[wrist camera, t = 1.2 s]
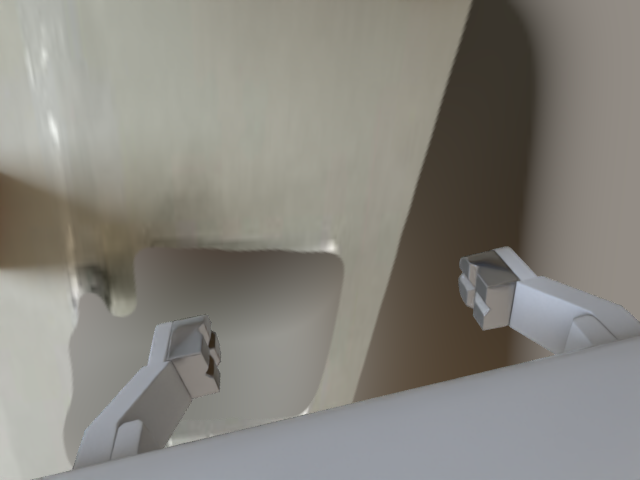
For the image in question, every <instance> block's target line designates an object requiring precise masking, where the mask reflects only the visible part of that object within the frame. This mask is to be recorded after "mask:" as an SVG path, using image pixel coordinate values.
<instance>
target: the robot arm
mask: <svg viewBox="0 0 640 480" xmlns="http://www.w3.org/2000/svg"><path fill="white" fill-rule="evenodd" d="M459 267H460V269H461V270H462V271H463V273H462V274H461V276H460V277H459V290H460V294H461V296H462V299H463V301H464V302H465V304H466V306H468V307H470V308H472V309H473V316H474V318H475V319H476V321H477V322H478V324H479V325H480V327H481V328H482V330H489V329H493V328H498V327H503V326H507V325H509V326H510V327H511V328H513V329H515V330H516V331H518V332H519V333H521V334H523V335H524V336H526V337H528V338H529V339H531V340H532V341H534V342H536V343H537V344H539V345H541V346H542V347H544V348H546V349H547V350H549V351H550V352H552V353H554V354H555V355H553V356H549V357H545V358H541V359H537V360H532V361H528V362H524V363H520V364H516V365H511V366H507V367H503V368H499V369H494V370H490V371H487V372H483V373H478V374H474V375H469V376H465V377H461V378H457V379H452V380H448V381H444V382H440V383H435V384H431V385H427V386H423V387H419V388H414V389H410V390H406V391H402V392H398V393H393V394H389V395H385V396H381V397H377V398H372V399H368V400H364V401H360V402H356V403H351V404H347V405H343V406H339V407H335V408H330V409H326V410H322V411H318V412H314V413H309V414H305V415H301V416H297V417H293V418H288V419H284V420H280V421H276V422H272V423H267V424H263V425H259V426H255V427H251V428H246V429H242V430H238V431H234V432H230V433H225V434H221V435H217V436H213V437H209V438H204V439H200V440H196V441H192V442H188V443H183V444H179V445H175V446H171V447H167V448H164V447H165V445H166V443H167V442H168V440H169V438H170V437H171V435H172V434H173V432H174V430H175V429H176V427H177V425H178V424H179V422H180V420H181V419H182V417H183V415H184V414H185V411H186V410H187V408H188V407H189V405H190V403H191V402H192V399H194V398H198V397H202V396H206V395H209V394H213V393H217V392H220V372H219V369H218V367H217V366H218V365H219V363H220V362H221V351H220V344H219V340H218V337H217V335H216V333H215V332H213V331H212V330H211V321H210V319H209V316H208V315H206V314H204V315H199V316H194V317H189V318H184V319H179V320H174V321H170V322H165V323H160V324H158V325H157V326H156V328H155V332H154V337H153V341H152V346H151V350H150V355H149V360H148V365H147V366H144V367H142V368H141V369H140V370H139V371H138V373H136V374H135V376H134V377H133V378H132V379H131V380H130V381H129V382H128V383H127V384H126V386H125V387H124V388H123V389H122V390H121V391H120V392H119V393H118V394H117V396H116V397H115V398H114V399H113V400H112V401H111V402H110V403H109V404H108V405H107V407H106V408H105V409H104V410H103V411H102V412H101V413H100V414H99V415H98V416H97V418H96V419H95V420H94V421H93V422H92V423H91V424H90V425H89V426H88V428H87V429H86V430H85V432H84V435H83V438H82V441H81V444H80V447H79V450H78V453H77V456H76V460H75V463H74V466H73V469H72V470H70V471H66V472H62V473H57V474H53V475H49V476H45V477H41V478H36V479H32V480H640V322H639V321H638V320H637V319H636V318H635V317H634V316H633V315H631V314H630V313H629V312H628V311H627V310H626V309H625V308H624V307H623V306H621V305H619V304H616V303H613V302H611V301H608V300H605V299H603V298H600V297H597V296H595V295H592V294H590V293H587V292H584V291H581V290H579V289H576V288H573V287H571V286H568V285H565V284H563V283H560V282H558V281H555V280H552V279H550V278H547V277H544V276H539V277H538V276H537V275H536V274H535V273H534V272H533V271H532V270H531V269H530V268H529V267H528V266H527V265H526V264H525V263H524V262H523V261H522V259H521V258H519V256H518V255H517V254H516V253H515V252H514V251H513V250H512V249H511V248H510V247H507V246H506V247H502V248H497V249H494V250H491V251H486V252H481V253H477V254H473V255H469V256H464V257H461V259H460V266H459Z"/></svg>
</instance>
